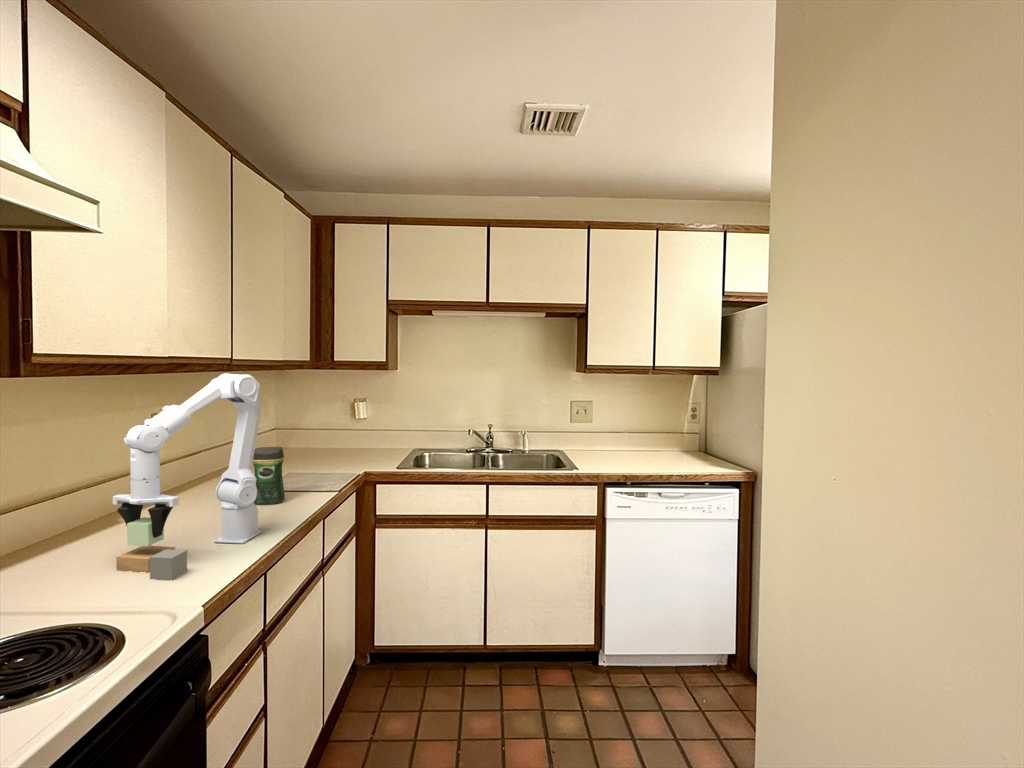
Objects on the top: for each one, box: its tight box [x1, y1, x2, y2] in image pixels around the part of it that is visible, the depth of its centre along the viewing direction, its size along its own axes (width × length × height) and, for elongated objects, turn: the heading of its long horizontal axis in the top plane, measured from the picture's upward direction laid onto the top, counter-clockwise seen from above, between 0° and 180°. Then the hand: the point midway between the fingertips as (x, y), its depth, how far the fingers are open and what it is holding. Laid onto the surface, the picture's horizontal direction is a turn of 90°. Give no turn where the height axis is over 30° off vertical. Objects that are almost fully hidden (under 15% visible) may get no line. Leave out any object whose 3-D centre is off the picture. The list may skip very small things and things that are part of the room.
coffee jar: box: [252, 446, 286, 505], centre depth 183 cm, size 10×8×19 cm
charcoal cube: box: [149, 549, 188, 581], centre depth 121 cm, size 5×5×5 cm
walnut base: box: [116, 544, 176, 574], centre depth 127 cm, size 8×8×4 cm
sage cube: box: [126, 516, 165, 547], centre depth 127 cm, size 5×5×5 cm
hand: (146, 535), depth 127 cm, fingers closed on sage cube, 5 cm apart
